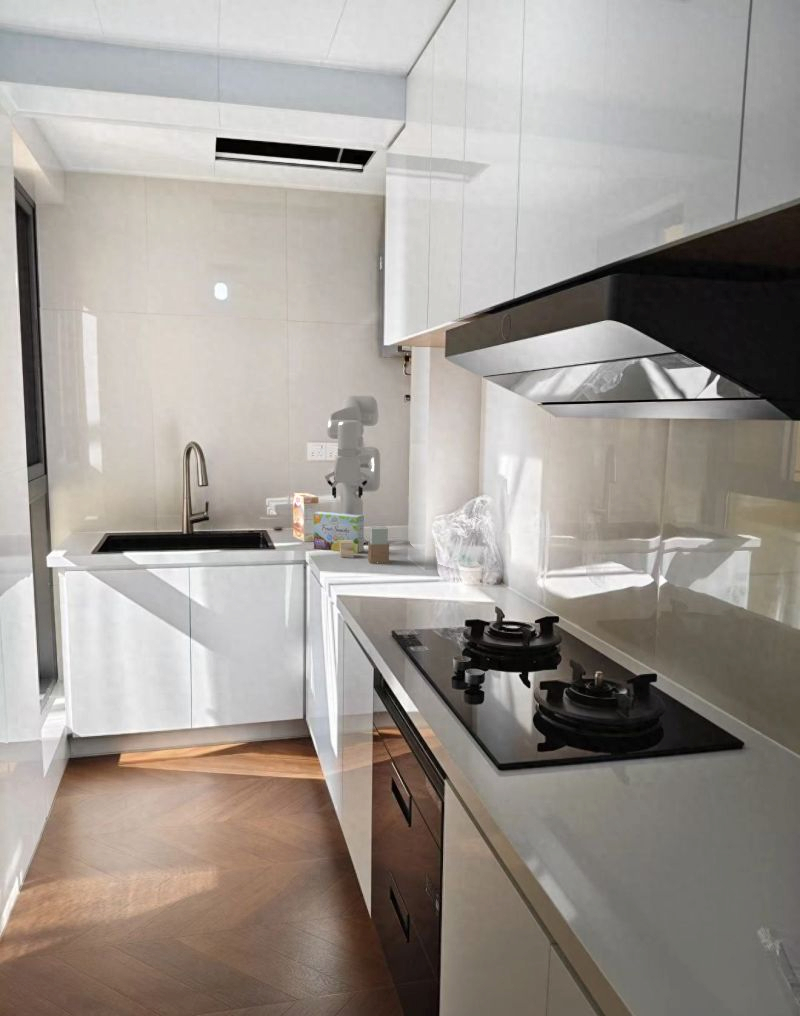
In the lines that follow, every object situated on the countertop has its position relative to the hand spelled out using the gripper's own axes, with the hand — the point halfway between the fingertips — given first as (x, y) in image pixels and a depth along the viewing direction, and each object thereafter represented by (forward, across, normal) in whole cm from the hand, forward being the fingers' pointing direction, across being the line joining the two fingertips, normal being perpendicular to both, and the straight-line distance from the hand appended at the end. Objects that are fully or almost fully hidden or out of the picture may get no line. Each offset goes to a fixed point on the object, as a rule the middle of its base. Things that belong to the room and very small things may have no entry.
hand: (347, 497), depth 323 cm
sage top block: (+16, -11, +12) cm, 23 cm away
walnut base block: (+23, -11, +12) cm, 28 cm away
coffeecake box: (+24, +14, -43) cm, 51 cm away
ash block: (+23, 0, 0) cm, 23 cm away
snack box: (+24, +2, -14) cm, 27 cm away
